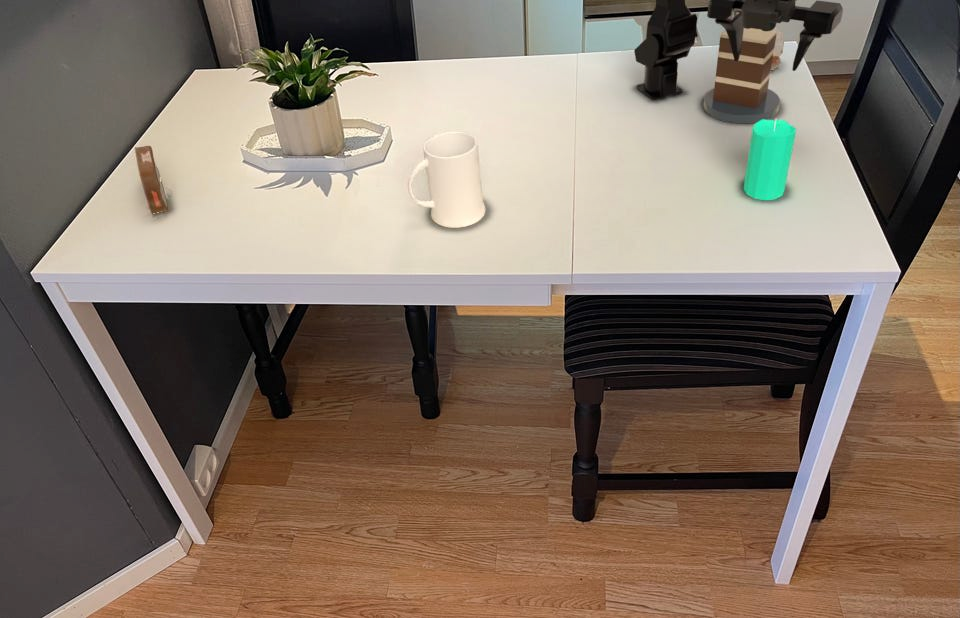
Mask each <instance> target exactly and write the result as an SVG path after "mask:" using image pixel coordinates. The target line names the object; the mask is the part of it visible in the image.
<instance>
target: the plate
mask: <svg viewBox="0 0 960 618" xmlns="http://www.w3.org/2000/svg"><path fill="white" fill-rule="evenodd" d="M713 95H714V87H713V88H711V89H709V90H708V91H707V92H706V93H705V95H704V97H703V106H702V107H703V110H704V111H705V113H707V115H709V116H710V117H712V118H714V119H716V120H719V121H722V122H726V123H731V124H755V123H757V122H758V121H760V120H762V119H765V120H771V119H772V118H774V117H775V116H776V115H777V113H778V112H779V109H780V102H781V99H780V97H779V95H778V94H777V93H776V92H775V91H773V90H772V89H770V88H768V90H767V97H766V98H765V99H764V100H763V102H762V103H761V104H760V105H759V106H758V107H757V108H752V107H747V106H742V105H736V104H731V103H726V102H721V101H716V100H713Z"/></svg>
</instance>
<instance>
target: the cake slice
mask: <svg viewBox="0 0 960 618" xmlns="http://www.w3.org/2000/svg"><path fill="white" fill-rule="evenodd" d="M776 34H777V31H774V30H771V31H762V30H760V29H753V28H750V29H746V28H744V32H743V40H742V49H741V53H740V58H739V60H738V61H734V57H733V53H732V49H731V45H730V41H729V37H728V35H727V32H726V30H725V29H724V30H723V32H721V33H720V36H719V43H718V44H719V45H718V54H717V61H716V70H715V77H714V78H715V79H714V87H713V88H714V95H713V100H716V101H721V102H726V103H731V104H736V105H742V106H747V107H752V108H757V107H758V106H759V105H760V104H761V103H762V102H763V100H764V99H765V98H766V97H767V90H768V89H769V84H770V77H771V71H772V70H771V65H772V59H773V53H774V47H775V41H776Z"/></svg>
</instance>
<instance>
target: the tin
mask: <svg viewBox="0 0 960 618" xmlns="http://www.w3.org/2000/svg"><path fill="white" fill-rule="evenodd" d="M134 153H135V158H136V164H137V170H138V174H139V175H138V176H139V178H140V181H141V182H140V183H141V185H142V189H143V193H144V196H145V198H146V201H147V205H148V208H149V210H150V214H151V215H156V214H162V213H165V212H168V209H167V208H168V207H169V206H168V202H167V197H166V192H165V189H164V185H163V180H161V182H160V177H161V174H160V171H159V168H158V167H157V164H156V161H155V157H154V152H153V148H152V145H144V146H138V147H137V146H136V147H134ZM165 210H166V211H165ZM161 211H163V212H161ZM157 212H159V213H157ZM153 213H155V214H153Z"/></svg>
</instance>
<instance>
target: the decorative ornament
mask: <svg viewBox="0 0 960 618" xmlns="http://www.w3.org/2000/svg"><path fill="white" fill-rule="evenodd" d="M773 30H774V31H777V34H776V41H775V47H774V53H773V59H772V65H771V71H773V70H776V68H779V66H780V65H781V64H782V61H781V58H780V57H781V55H782V54H783V52H784V46H785V39H784V38H783V33H782V32H780V30H779V29H778V28H777V27H775V28H774V29H773Z"/></svg>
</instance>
